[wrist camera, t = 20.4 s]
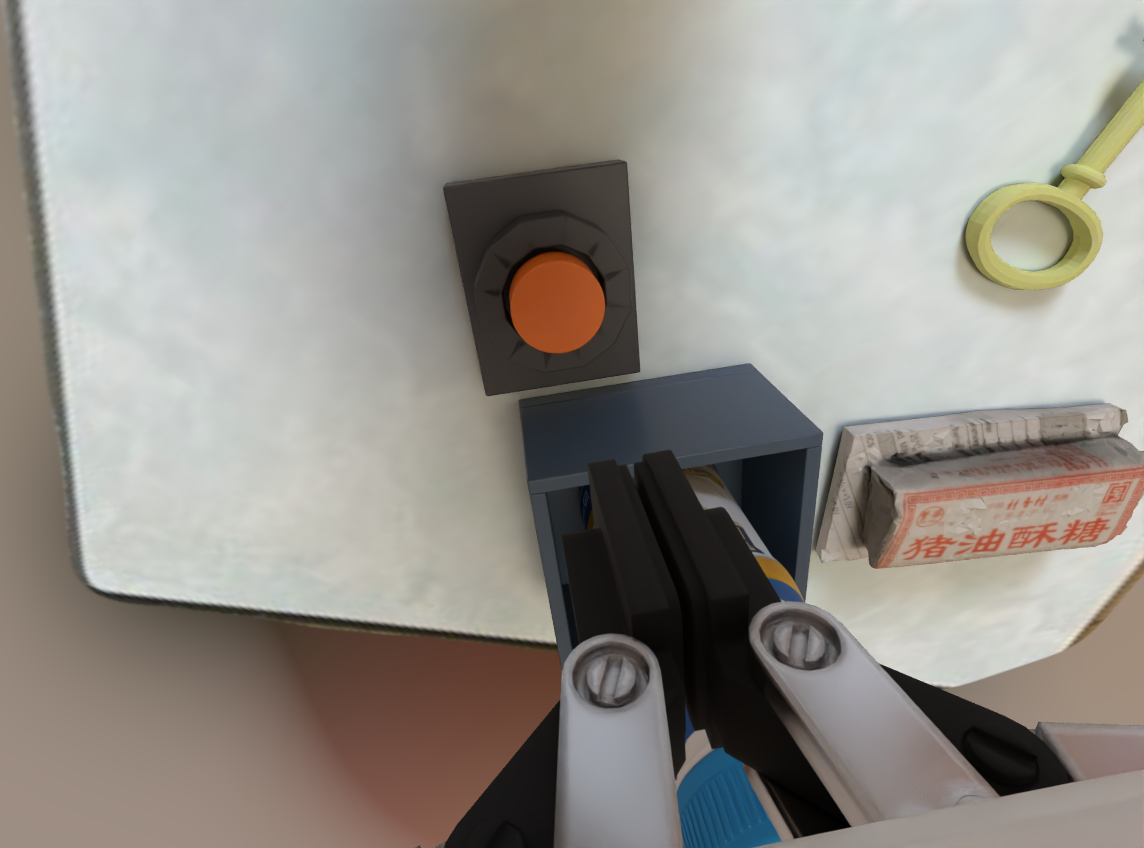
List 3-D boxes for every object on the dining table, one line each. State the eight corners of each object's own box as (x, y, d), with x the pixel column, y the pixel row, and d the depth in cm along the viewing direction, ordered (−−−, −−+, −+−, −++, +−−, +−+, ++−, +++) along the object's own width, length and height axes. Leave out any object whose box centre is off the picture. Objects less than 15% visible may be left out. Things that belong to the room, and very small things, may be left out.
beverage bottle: (607, 567, 36) (719, 989, 19) (551, 465, 32) (626, 881, 15) (733, 514, 35) (972, 901, 18) (692, 403, 31) (947, 762, 14)
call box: (444, 183, 26) (439, 191, 23) (620, 159, 26) (636, 164, 23) (486, 385, 31) (486, 413, 28) (634, 362, 31) (649, 386, 28)
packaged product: (1193, 434, 32) (1118, 571, 37) (1111, 396, 36) (1053, 523, 41) (886, 464, 30) (849, 604, 35) (837, 421, 34) (810, 551, 39)
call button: (502, 258, 25) (502, 268, 23) (593, 244, 25) (600, 254, 23) (516, 345, 27) (518, 360, 25) (601, 331, 27) (609, 346, 25)
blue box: (518, 399, 31) (527, 481, 24) (750, 363, 32) (824, 432, 25) (551, 583, 38) (565, 690, 31) (744, 549, 38) (800, 646, 31)
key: (1181, 21, 26) (1233, 15, 25) (1058, 288, 32) (1093, 299, 30) (1043, 5, 25) (1086, -3, 24) (941, 283, 31) (970, 294, 29)
